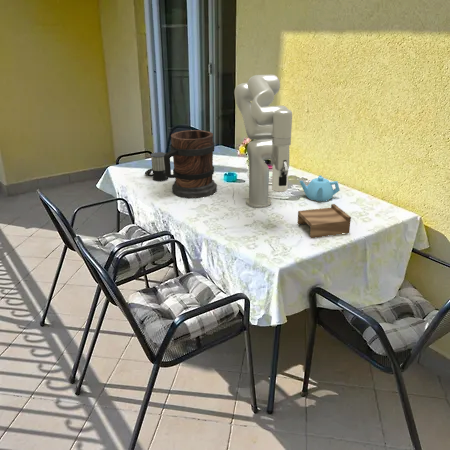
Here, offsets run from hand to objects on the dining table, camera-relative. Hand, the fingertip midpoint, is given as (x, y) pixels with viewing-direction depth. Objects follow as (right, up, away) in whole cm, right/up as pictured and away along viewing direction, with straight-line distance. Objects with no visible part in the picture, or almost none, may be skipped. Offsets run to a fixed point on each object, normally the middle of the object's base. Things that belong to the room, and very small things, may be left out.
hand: (279, 182), depth 181 cm
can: (0, -3, +1) cm, 3 cm away
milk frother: (-63, +10, +71) cm, 95 cm away
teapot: (+25, -4, +38) cm, 46 cm away
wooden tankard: (-41, 0, +48) cm, 63 cm away
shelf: (+19, -19, +4) cm, 27 cm away
